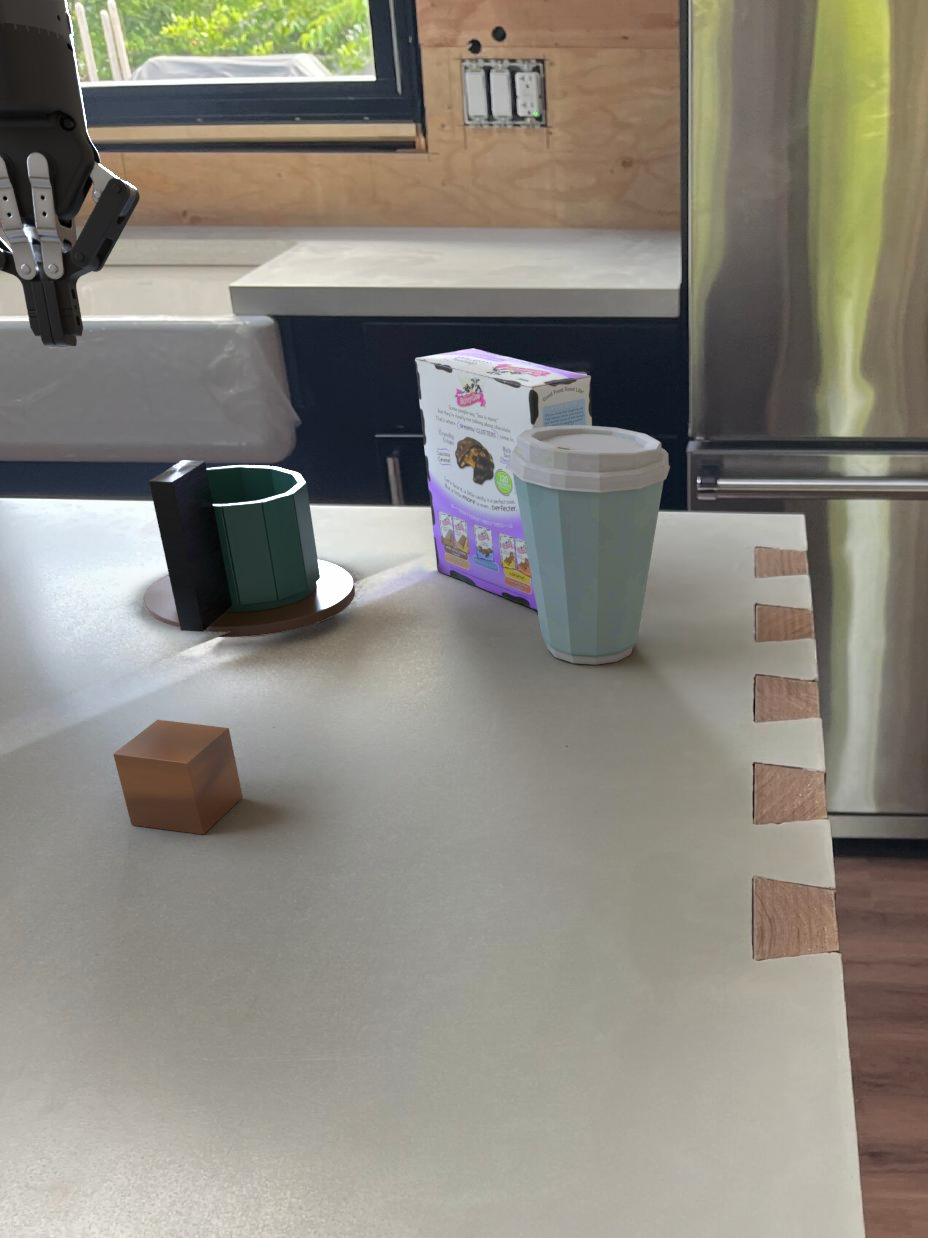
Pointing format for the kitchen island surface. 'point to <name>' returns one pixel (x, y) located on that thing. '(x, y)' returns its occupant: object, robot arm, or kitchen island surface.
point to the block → (179, 776)
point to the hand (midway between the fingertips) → (60, 345)
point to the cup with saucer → (240, 552)
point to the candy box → (487, 457)
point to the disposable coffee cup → (589, 533)
